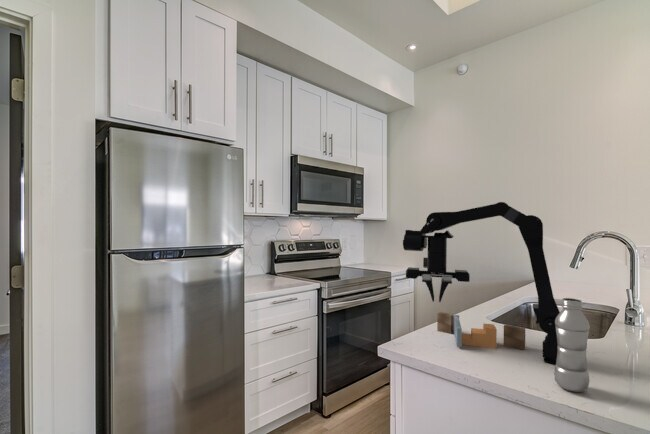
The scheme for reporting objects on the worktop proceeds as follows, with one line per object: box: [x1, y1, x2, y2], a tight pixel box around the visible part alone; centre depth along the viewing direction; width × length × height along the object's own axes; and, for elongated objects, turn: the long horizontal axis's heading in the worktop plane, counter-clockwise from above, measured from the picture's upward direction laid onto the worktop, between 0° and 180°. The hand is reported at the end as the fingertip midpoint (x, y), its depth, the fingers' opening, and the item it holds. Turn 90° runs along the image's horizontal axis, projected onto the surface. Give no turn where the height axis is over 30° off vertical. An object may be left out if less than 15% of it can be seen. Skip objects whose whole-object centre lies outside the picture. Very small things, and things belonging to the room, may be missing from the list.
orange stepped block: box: [461, 322, 498, 349], centre depth 106 cm, size 10×5×6 cm, turn 73°
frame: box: [436, 311, 526, 351], centre depth 110 cm, size 26×2×6 cm, turn 49°
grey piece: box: [452, 314, 463, 348], centre depth 108 cm, size 15×2×6 cm, turn 163°
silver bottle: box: [553, 297, 591, 393], centre depth 78 cm, size 6×7×20 cm
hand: (436, 301), depth 108 cm, fingers closed
